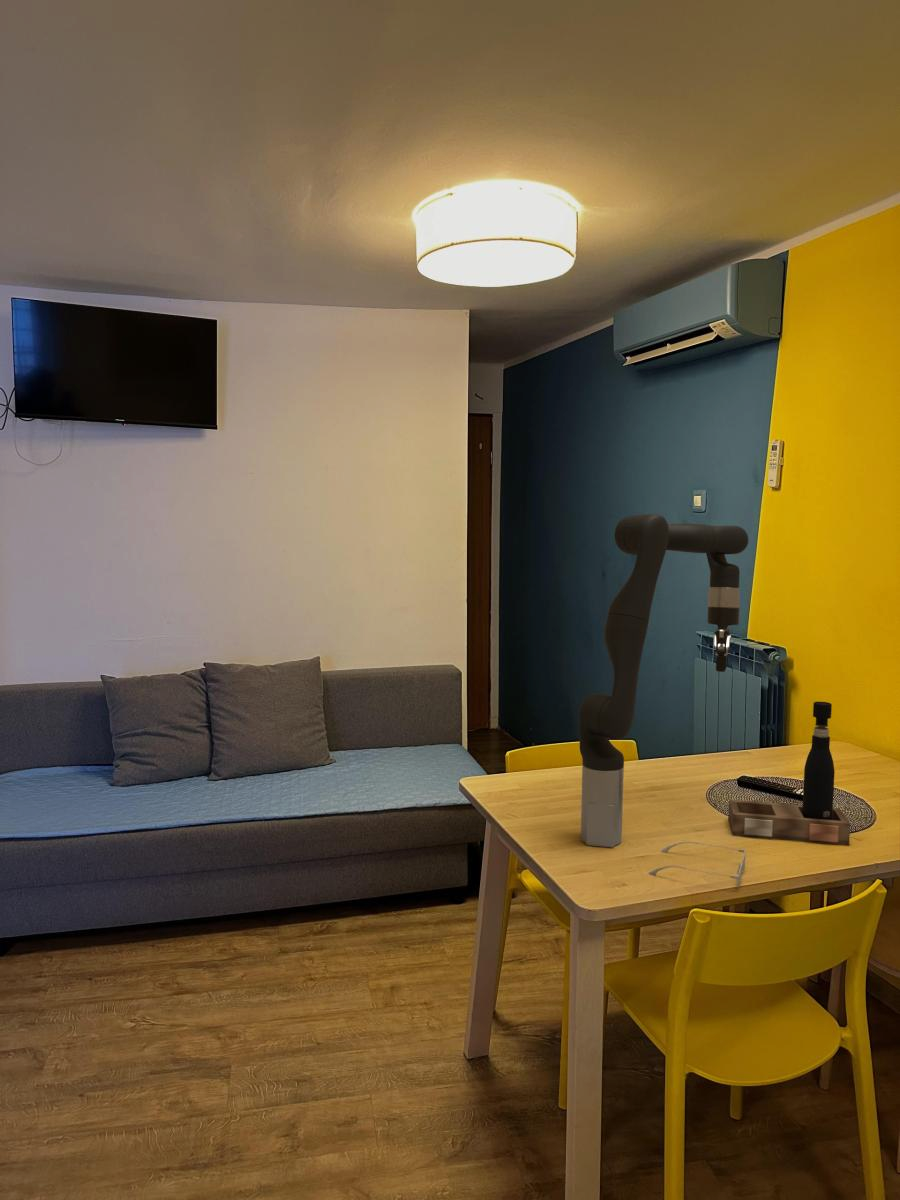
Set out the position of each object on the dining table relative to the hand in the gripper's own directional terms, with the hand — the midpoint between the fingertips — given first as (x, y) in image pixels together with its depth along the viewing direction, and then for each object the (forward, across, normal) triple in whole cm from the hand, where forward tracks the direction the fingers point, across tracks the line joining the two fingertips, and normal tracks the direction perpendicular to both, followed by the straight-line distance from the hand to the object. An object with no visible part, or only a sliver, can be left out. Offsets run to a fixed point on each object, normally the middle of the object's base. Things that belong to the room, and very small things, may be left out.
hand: (721, 670), depth 215 cm
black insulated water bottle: (+35, -8, -23) cm, 43 cm away
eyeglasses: (+40, -40, +2) cm, 56 cm away
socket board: (+36, -9, -16) cm, 41 cm away
